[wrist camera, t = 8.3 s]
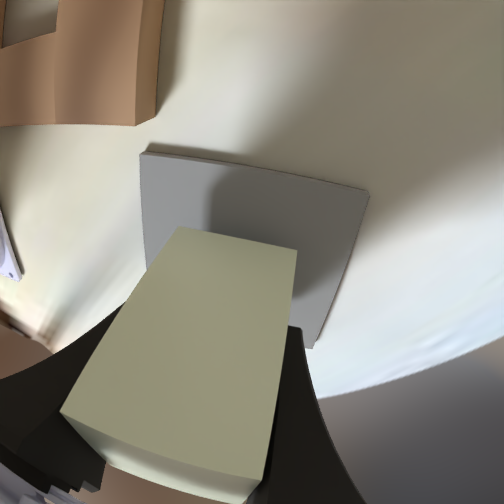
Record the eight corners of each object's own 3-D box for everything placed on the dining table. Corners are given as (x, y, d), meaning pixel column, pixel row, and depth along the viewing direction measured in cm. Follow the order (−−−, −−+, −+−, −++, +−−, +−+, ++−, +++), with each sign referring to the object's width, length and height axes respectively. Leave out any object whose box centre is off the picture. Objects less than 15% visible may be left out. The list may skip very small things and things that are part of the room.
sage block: (180, 308, 14) (109, 464, 8) (178, 225, 12) (59, 411, 5) (275, 330, 14) (240, 505, 7) (297, 250, 11) (261, 480, 5)
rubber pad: (154, 307, 17) (152, 312, 17) (144, 151, 12) (139, 154, 12) (312, 343, 16) (312, 349, 16) (368, 191, 11) (369, 195, 11)
